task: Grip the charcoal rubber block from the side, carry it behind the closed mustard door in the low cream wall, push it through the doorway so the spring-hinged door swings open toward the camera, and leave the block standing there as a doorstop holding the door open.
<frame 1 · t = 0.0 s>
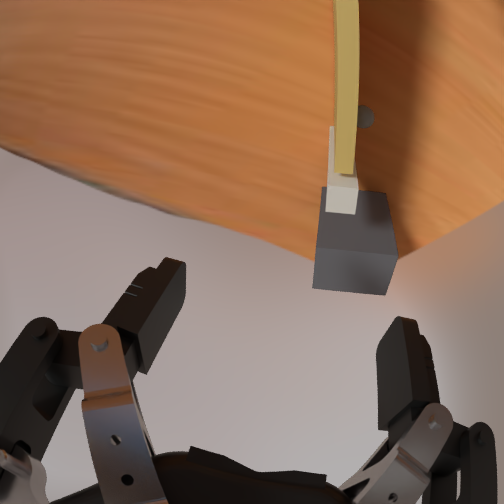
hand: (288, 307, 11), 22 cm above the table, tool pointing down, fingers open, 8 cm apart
wall frame: (340, 11, 19), on the table
rubber block: (351, 208, 33), on the table
door: (356, 39, 17), point 6 cm above the table, hinge at 0.0°
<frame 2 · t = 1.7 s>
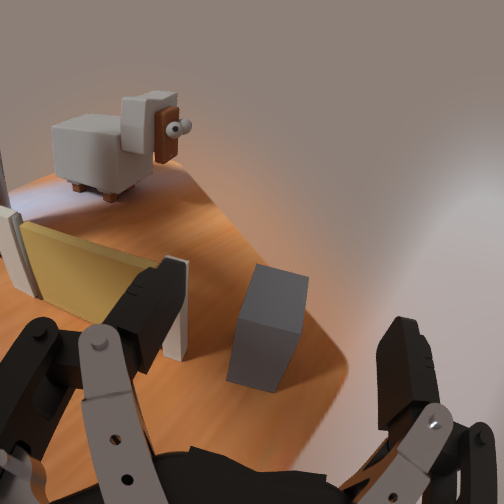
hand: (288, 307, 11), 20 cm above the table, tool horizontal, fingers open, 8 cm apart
wall frame: (81, 314, 32), on the table
toy: (120, 195, 56), on the table
rubber block: (257, 360, 32), on the table
door: (91, 280, 29), point 6 cm above the table, hinge at 0.0°
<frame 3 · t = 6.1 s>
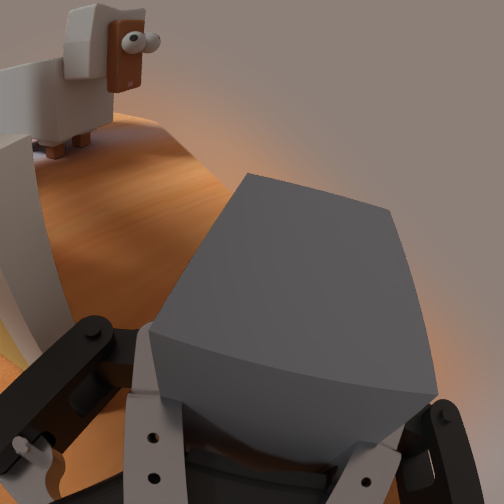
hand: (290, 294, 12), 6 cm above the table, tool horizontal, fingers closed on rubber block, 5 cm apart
toy: (70, 151, 37), on the table
rubber block: (252, 419, 13), on the table, touching gripper
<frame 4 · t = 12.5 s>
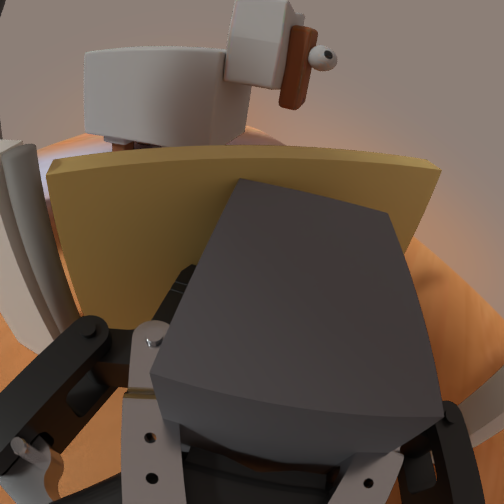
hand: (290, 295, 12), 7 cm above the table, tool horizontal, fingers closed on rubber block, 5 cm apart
wall frame: (214, 417, 14), on the table
toy: (195, 162, 37), on the table
rubber block: (252, 422, 13), point 1 cm above the table, touching gripper
door: (265, 255, 15), point 6 cm above the table, hinge at 34.0°, touching gripper
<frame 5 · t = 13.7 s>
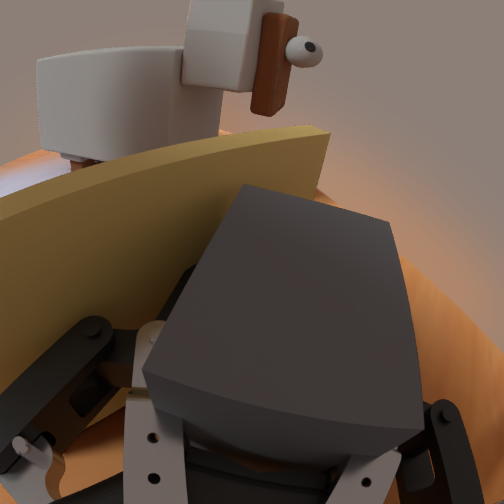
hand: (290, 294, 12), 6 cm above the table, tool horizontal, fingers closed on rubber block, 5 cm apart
toy: (160, 179, 32), on the table
rubber block: (251, 422, 13), on the table, touching gripper
door: (148, 281, 12), point 6 cm above the table, hinge at 57.2°, touching gripper
when the fingers open (6 cm above the table, at t = 15.1 s): rubber block stays where it is, on the table.
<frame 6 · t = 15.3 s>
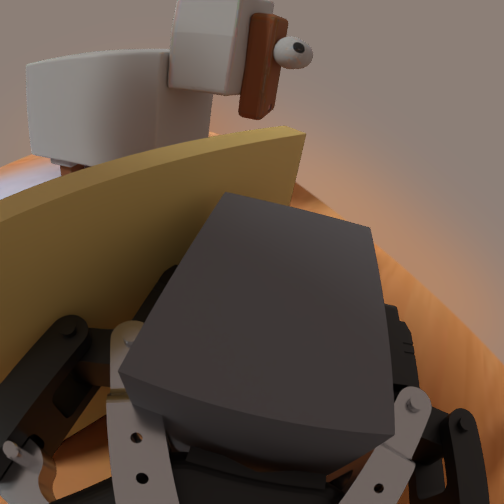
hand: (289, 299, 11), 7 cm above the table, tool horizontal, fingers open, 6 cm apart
toy: (150, 184, 31), on the table
rubber block: (238, 425, 13), on the table
door: (123, 289, 12), point 6 cm above the table, hinge at 58.9°, touching gripper
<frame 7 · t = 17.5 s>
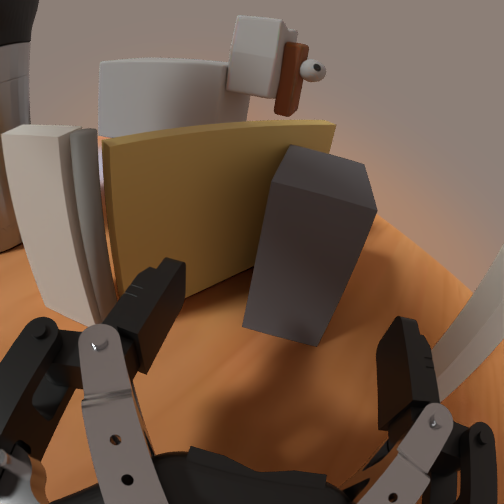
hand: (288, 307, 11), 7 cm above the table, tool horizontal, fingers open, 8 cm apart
wall frame: (218, 362, 17), on the table
toy: (199, 164, 41), on the table
rubber block: (288, 300, 22), on the table, touching door
door: (228, 200, 20), point 6 cm above the table, hinge at 55.2°, touching rubber block
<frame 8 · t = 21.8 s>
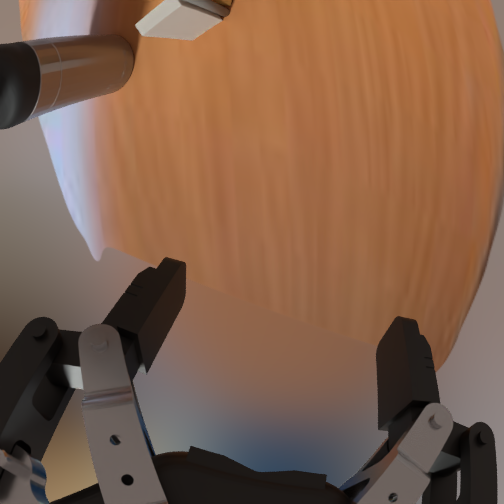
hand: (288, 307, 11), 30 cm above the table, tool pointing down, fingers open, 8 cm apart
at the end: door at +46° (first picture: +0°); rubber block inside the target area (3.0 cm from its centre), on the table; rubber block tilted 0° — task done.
